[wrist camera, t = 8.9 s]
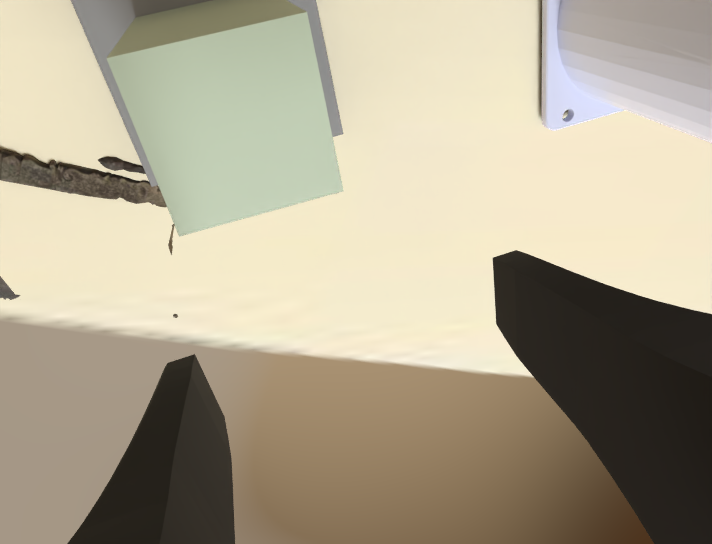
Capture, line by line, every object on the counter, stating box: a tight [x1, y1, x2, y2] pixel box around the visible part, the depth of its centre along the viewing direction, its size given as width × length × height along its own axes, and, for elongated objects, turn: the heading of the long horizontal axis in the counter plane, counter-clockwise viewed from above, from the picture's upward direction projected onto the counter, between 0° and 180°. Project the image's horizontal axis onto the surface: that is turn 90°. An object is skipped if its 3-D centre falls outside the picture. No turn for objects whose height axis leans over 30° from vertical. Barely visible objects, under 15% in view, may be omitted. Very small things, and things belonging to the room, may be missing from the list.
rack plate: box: [71, 0, 343, 187], centre depth 18 cm, size 7×6×1 cm
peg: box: [106, 0, 343, 236], centre depth 15 cm, size 4×4×7 cm
